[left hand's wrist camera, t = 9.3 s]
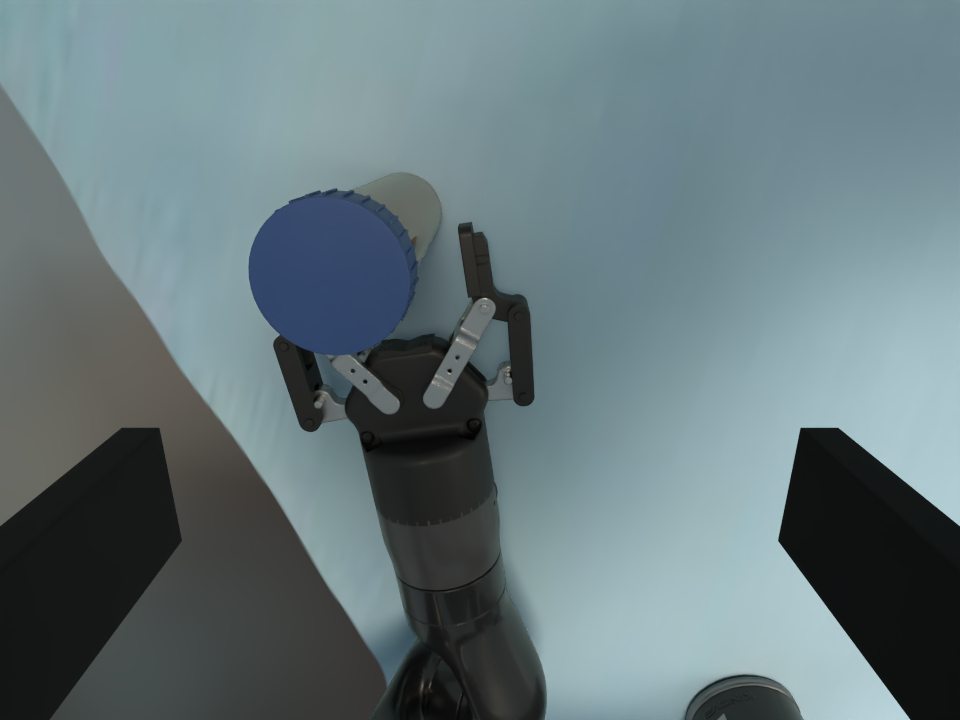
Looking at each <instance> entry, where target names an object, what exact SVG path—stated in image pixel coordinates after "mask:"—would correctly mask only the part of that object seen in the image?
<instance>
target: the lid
mask: <svg viewBox="0 0 960 720" xmlns="http://www.w3.org/2000/svg"><path fill="white" fill-rule="evenodd" d="M305 197H306V198H305ZM370 197H371V196H369V195H367V196H364V195H361V194H358V193H354V190H350V191H337V189H332V190H329V191H326V192H322V193H321V191H316V192H313V193H310V194H307V195H305V196H303V197H300V198H297V199H294V200H291V201H289V204H288V205H286V206H284V207H282V208H281V209H278V210H276V211H275V213H274V214H273V215H272V216H271V217H270V218H269V219H268V220H267V221H266V222H265V223H264V224H263V226H262V227H261V228H260V230H259V232H258V234H257V236H256V237H255V240H254V243H253V245H252V248H251V253H250V257H249V280H250V286H251V290H252V293H253V296H254V299H255V301H256V303H257V306H258V308H259V309H260V311H261V313H262V314H263V316H264V317H265V319H266V320H267V321H268V323H269V324H270V325H271V326H272V327H273V328H274V329H275V330H276V331H277V332H278V333H279V334H280V335H282V336H283V337H284V338H285V339H287V340H288V341H290V342H292V343H293V344H295V345H297V346H299V347H301V348H303V349H306V350H309V351H312V352H315V353H320V354H324V355H348V354H354V353H357V352H361V351H364V350H366V349H368V348H371V347H373V346H374V345H376V344H378V343H379V342H381V341H382V340H383V339H384V338H386V337H387V336H388V335H389V334H390V333H392V332H393V331H394V329H395V327H396V326H397V324H398V323H399V321H400V320H401V321H402V320H403V319H404V316H405V314H406V312H407V310H408V308H409V306H410V304H411V302H412V300H413V298H414V295H415V292H413V291H414V288H415V286H416V284H417V282H418V279H419V277H417V266H418V264H419V261H416V255H415V250H414V249H415V245H413V244H412V242H411V239H410V237H409V235H408V232H409V231H408V229H406V230H405V228H404V227H403V225H402V224H401V222H400V221H399V220H398V218H399V217H398V216H397V215H396V216H395V215H394V214H393V213H391V212H390V211H389V210H388V209H387V208H386V207H385V206H386V205H385V204H382V205H381V204H380V203H378V202H377V201H375V200H373V199H371V198H370ZM407 305H408V306H407Z"/></svg>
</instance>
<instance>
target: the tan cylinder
mask: <svg viewBox="0 0 960 720" xmlns="http://www.w3.org/2000/svg"><path fill="white" fill-rule="evenodd" d="M352 190H354V193H358V194H361V195H364V196H367V195H369V196H371V197H370V198H371V199H373V200H375V201H377V202H378V203H380V204H381V205H382V204H385V205H386V206H385V207H386V208H387V209H388V210H389V211H390V212H391V213H393V214H394V215H395V216H396V215H397V216H398V217H399V218H398V220H399V221H400V222H401V224H402V225H403V227H404V228H405V230H406V229H408V231H409V232H408V235H409V237H410V239H411V242H412V244H413V245H415V249H414V250H415V255H416V261H419V264H420V262H421V261H422V259H423V257H424V255H425V253H426V251H427V249H428V247H429V245H430V244H431V242H432V240H433V238H434V236H435V234H436V232H437V230H438V228H439V225H440V222H441V205H440V201H439V198H438V196H437V194H436V192H435V191H434V189H433V188H432V187H431V186H430V184H428V183H427V182H426V181H425V180H423V179H422V178H420V177H418V176H416V175H413V174H409V173H395V174H391V175H388V176H385V177H383V178H380V179H378V180H375V181H373V182H370V183H368V184H365V185H362V186H360V187H357V188H355V189H352ZM419 264H418V266H419ZM418 266H417V268H418Z"/></svg>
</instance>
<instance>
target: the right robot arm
mask: <svg viewBox="0 0 960 720" xmlns="http://www.w3.org/2000/svg"><path fill="white" fill-rule="evenodd" d="M458 233H459V240H460V247H461V253H462V260H463V266H464V273H465V280H466V286H467V293H468V298H470V297H472V300H471V302H470V303H469V305H468V307H467V309H466V310H465V312H464V314H463V316H462V317H461V318H460V319H459V321H458V323H457V324H456V326H455V328H454V330H453V331H452V333H451V335H450V337H449V338H448V340H445V339H443V338H440V337H435V334H428V335H422V336H419V337H417V338H414V339H412V340H401V339H390V340H383V341H382V343H381V344H379V345H378V346H376V347H374V346H373V347H371V348H368V349H366V350H364V352H365V353H364V352H363V351H361V352H357V353H354V354H348V355H325V356H327V357H328V358H329V360H330V363H331V365H332V366H333V367H334V368H335V369H336V370H337V371H338V372H339V373H340V374H342V375H343V376H344V377H345V378H346V379H347V380H349V381H350V382H351V383H352V384H353V386H352V388H351V391H350V393H349V395H348V397H347V398H341V397H339V396H338V395H337V394H336V393H335V391H334V389H333V388H332V387H331V386H329V385H326V384H323V381H322V378H321V375H320V372H319V368H318V365H317V362H316V359H315V356H314V352H312V351H309V350H306V349H303V348H301V347H299V346H297V345H295V344H293V343H292V342H290V341H288V340H287V339H285V338H284V337H283V336H282V335H279V336H278V337H277V338H276V339H275V341H274V344H273V347H274V350H275V353H276V356H277V359H278V362H279V365H280V368H281V371H282V374H283V377H284V380H285V383H286V386H287V389H288V392H289V395H290V397H291V400H292V403H293V406H294V409H295V412H296V415H297V418H298V421H299V424H300V426H301V428H302V429H303V430H305V431H308V432H313V431H316V430H317V429H318V428H319V426H320V425H321V424H322V423H325V422H330V421H336V420H341V419H347V418H348V419H349V420H350V421H351V422H352V423H353V424H354V426H355V427H356V429H357V430H358V432H359V436H360V441H361V446H362V450H363V454H364V459H365V463H366V467H367V471H368V476H369V480H370V484H371V488H372V493H373V497H374V502H375V506H376V510H377V514H378V519H379V523H380V527H381V531H382V536H383V539H384V543H385V546H386V548H387V551H388V553H389V555H390V558H391V560H392V563H393V566H394V569H395V574H396V578H397V583H398V587H399V591H400V596H401V600H402V604H403V608H404V612H405V616H406V619H407V622H408V624H409V626H410V628H411V630H412V632H413V633H414V635H415V636H416V637H417V640H416V642H415V643H414V644H413V645H412V646H411V648H410V649H409V651H408V652H407V654H406V655H405V657H404V659H403V661H402V663H401V664H400V666H399V668H398V670H397V672H396V674H395V676H394V677H393V679H392V681H391V683H390V684H389V686H388V688H387V690H386V691H385V693H384V695H383V696H382V698H381V700H380V701H379V703H378V705H377V707H376V708H375V710H374V712H373V713H372V715H371V717H370V719H369V720H544V719H545V715H546V707H547V690H546V681H545V676H544V672H543V668H542V665H541V662H540V659H539V656H538V654H537V652H536V649H535V647H534V645H533V643H532V641H531V639H530V636H529V634H528V632H527V630H526V628H525V626H524V624H523V622H522V619H521V617H520V615H519V613H518V611H517V609H516V607H515V605H514V604H513V602H512V600H511V598H510V597H509V595H508V593H507V589H506V581H505V573H504V567H503V561H502V554H501V548H500V539H499V528H500V521H499V510H498V503H497V494H498V492H497V487H496V484H495V482H494V477H493V470H492V464H491V457H490V451H489V444H488V437H487V431H486V424H485V418H484V409H485V406H486V404H487V402H488V401H494V400H509V399H514V401H515V403H516V404H518V405H519V406H528V405H530V404H531V403H532V402H533V400H534V380H533V361H532V342H531V323H530V312H529V308H528V303H527V300H526V298H525V297H524V296H522V295H519V294H515V295H509V294H505V293H501V292H499V291H498V290H497V289H496V288H495V286H494V284H493V279H492V272H491V264H490V257H489V250H488V242H487V239H486V237H485V236H484V234H483V232H477V233H474V232H473V226H472V222H469V223H462V224H459V226H458ZM491 319H496V320H500V321H505V322H508V334H509V349H510V361H505V362H502V363H501V364H500V365H499V366H498V370H497V375H496V376H495V378H493V379H492V380H489V381H487V380H486V378H485V377H484V376H483V375H482V374H481V373H480V372H479V371H478V370H477V369H476V368H475V367H474V366H473V365H472V364H471V363H470V362H469V361H468V360H469V359H470V357H471V355H472V353H473V352H474V350H475V348H476V346H477V344H478V341H479V339H480V337H481V336H482V334H483V332H484V330H485V329H486V327H487V325H488V324H489V322H490V320H491ZM686 720H804V719H803V718H802V716H801V714H800V710H799V708H798V706H797V704H796V702H795V700H794V698H793V696H792V695H791V694H790V692H789V691H788V690H787V689H786V688H784V687H783V686H782V685H780V684H778V683H776V682H774V681H772V680H769V679H765V678H761V677H736V678H731V679H727V680H724V681H721V682H719V683H716V684H714V685H712V686H711V687H709V688H707V689H706V690H704V691H703V692H702V693H701V694H699V695H698V696H697V697H696V699H695V700H694V701H693V702H692V704H691V706H690V707H689V709H688V712H687V716H686Z"/></svg>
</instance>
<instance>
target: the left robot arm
mask: <svg viewBox="0 0 960 720" xmlns="http://www.w3.org/2000/svg"><path fill="white" fill-rule="evenodd" d="M181 541H182V539H181V534H180V529H179V524H178V519H177V514H176V509H175V504H174V499H173V494H172V489H171V484H170V479H169V474H168V469H167V464H166V459H165V454H164V449H163V444H162V439H161V434H160V429H159V428H121V429H120V430H119V431H117V432H116V433H115V434H114V435H112V436H111V437H110V438H109V439H108V440H106V441H105V442H104V443H103V444H101V445H100V446H99V447H98V448H96V449H95V450H94V451H93V452H91V453H90V454H89V455H88V456H87V457H85V458H84V459H83V460H82V461H80V462H79V463H78V464H77V465H75V466H74V467H73V468H72V469H71V470H69V471H68V472H67V473H66V474H64V475H63V476H62V477H61V478H59V479H58V480H57V481H56V482H54V483H53V484H52V485H51V486H49V487H48V488H47V489H46V490H45V491H43V492H42V493H41V494H40V495H38V496H37V497H36V498H35V499H33V500H32V501H31V502H30V503H28V504H27V505H26V506H25V507H24V508H22V509H21V510H20V511H19V512H17V513H16V514H15V515H14V516H12V517H11V518H10V519H9V520H7V521H6V522H5V523H4V524H3V525H1V526H0V720H50V718H51V717H52V716H53V714H54V713H55V711H56V710H57V709H58V707H59V706H60V705H61V703H62V702H63V701H64V699H65V698H66V697H67V695H68V694H69V693H70V691H71V690H72V688H73V687H74V686H75V685H76V683H77V682H78V680H79V679H80V678H81V676H82V675H83V674H84V672H85V671H86V670H87V668H88V667H89V666H90V664H91V663H92V662H93V660H94V659H95V657H96V656H97V655H98V653H99V652H100V651H101V649H102V648H103V647H104V645H105V644H106V643H107V641H108V640H109V639H110V637H111V636H112V635H113V633H114V632H115V630H116V629H117V628H118V626H119V625H120V624H121V622H122V621H123V620H124V618H125V617H126V616H127V614H128V613H129V611H130V610H131V609H132V607H133V606H134V605H135V603H136V602H137V601H138V599H139V598H140V597H141V595H142V594H143V593H144V591H145V590H146V589H147V587H148V586H149V585H150V583H151V582H152V580H153V579H154V578H155V576H156V575H157V574H158V572H159V571H160V570H161V568H162V567H163V566H164V564H165V563H166V562H167V560H168V559H169V557H170V556H171V555H172V553H173V552H174V551H175V549H176V548H177V547H178V545H179V544H180V543H181ZM778 541H779V543H780V544H781V545H782V547H783V548H784V549H785V551H786V552H787V553H788V555H789V556H790V557H791V559H792V560H793V562H794V563H795V564H796V566H797V567H798V568H799V570H800V571H801V572H802V574H803V575H804V576H805V578H806V579H807V580H808V582H809V583H810V585H811V586H812V587H813V589H814V590H815V591H816V593H817V594H818V595H819V597H820V598H821V599H822V601H823V602H824V603H825V605H826V606H827V607H828V609H829V610H830V612H831V613H832V614H833V616H834V617H835V618H836V620H837V621H838V622H839V624H840V625H841V626H842V628H843V629H844V630H845V632H846V633H847V635H848V636H849V637H850V639H851V640H852V641H853V643H854V644H855V645H856V647H857V648H858V649H859V651H860V652H861V653H862V655H863V656H864V657H865V659H866V660H867V662H868V663H869V664H870V666H871V667H872V668H873V670H874V671H875V672H876V674H877V675H878V676H879V678H880V679H881V680H882V682H883V683H884V685H885V686H886V687H887V689H888V690H889V691H890V693H891V694H892V695H893V697H894V698H895V699H896V701H897V702H898V703H899V705H900V706H901V708H902V709H903V710H904V712H905V713H906V714H907V716H908V717H909V718H910V720H960V526H959V525H957V524H956V523H955V522H954V521H953V520H951V519H950V518H949V517H948V516H946V515H945V514H944V513H943V512H941V511H940V510H939V509H938V508H936V507H935V506H934V505H933V504H932V503H930V502H929V501H928V500H927V499H925V498H924V497H923V496H922V495H920V494H919V493H918V492H917V491H915V490H914V489H913V488H912V487H911V486H909V485H908V484H907V483H906V482H904V481H903V480H902V479H901V478H899V477H898V476H897V475H896V474H894V473H893V472H892V471H891V470H890V469H888V468H887V467H886V466H885V465H883V464H882V463H881V462H880V461H878V460H877V459H876V458H875V457H873V456H872V455H871V454H870V453H869V452H867V451H866V450H865V449H864V448H862V447H861V446H860V445H859V444H857V443H856V442H855V441H854V440H852V439H851V438H850V437H849V436H848V435H846V434H845V433H844V432H843V431H841V430H840V429H839V428H801V429H800V434H799V439H798V444H797V449H796V454H795V459H794V464H793V469H792V474H791V479H790V484H789V489H788V494H787V499H786V504H785V509H784V514H783V519H782V524H781V529H780V534H779V539H778Z"/></svg>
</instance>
